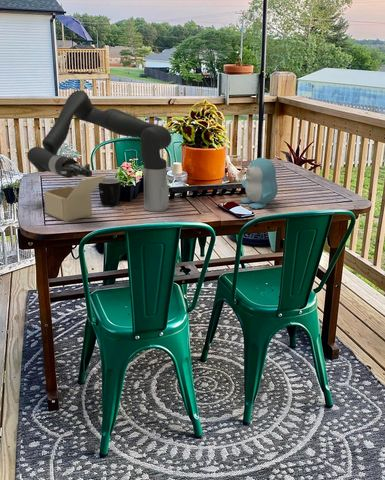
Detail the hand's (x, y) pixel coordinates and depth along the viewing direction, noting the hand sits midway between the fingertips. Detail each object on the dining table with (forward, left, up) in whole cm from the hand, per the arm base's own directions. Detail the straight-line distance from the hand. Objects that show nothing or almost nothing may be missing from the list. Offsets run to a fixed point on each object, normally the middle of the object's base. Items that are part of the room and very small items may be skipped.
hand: (90, 173), depth 177 cm
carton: (+15, -5, -19) cm, 25 cm away
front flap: (+3, -1, -5) cm, 6 cm away
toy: (-49, -53, -19) cm, 75 cm away
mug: (+7, -23, -19) cm, 31 cm away
